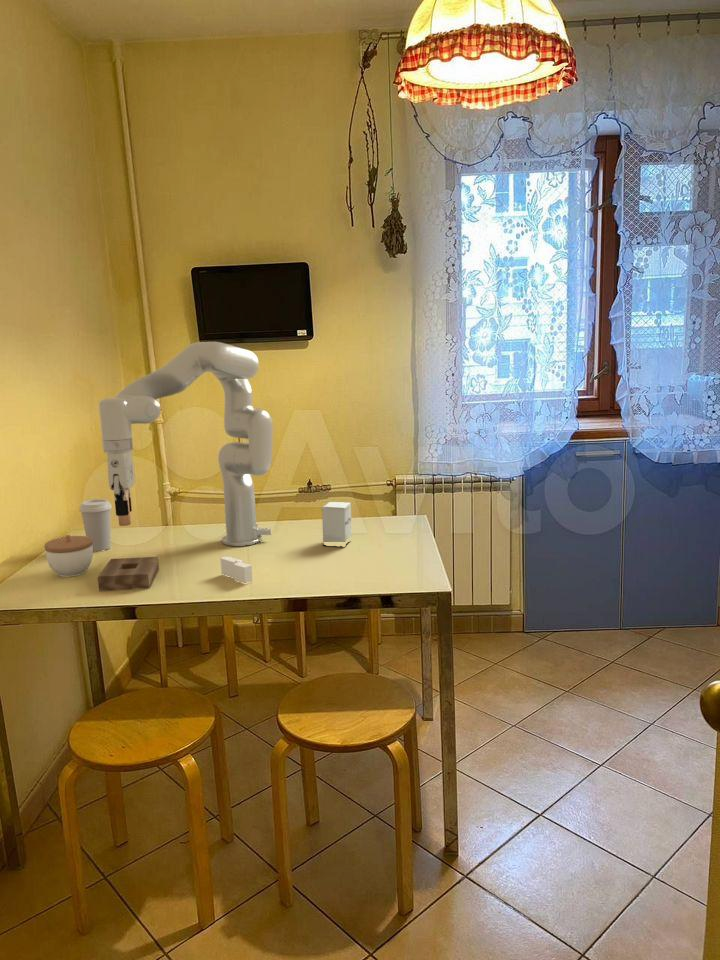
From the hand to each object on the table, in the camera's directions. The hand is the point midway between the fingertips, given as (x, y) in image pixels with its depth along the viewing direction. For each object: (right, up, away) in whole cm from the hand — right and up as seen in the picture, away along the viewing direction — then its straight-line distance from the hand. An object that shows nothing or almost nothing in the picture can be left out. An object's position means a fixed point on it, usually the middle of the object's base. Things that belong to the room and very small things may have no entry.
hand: (123, 512), depth 201 cm
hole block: (0, -18, +4) cm, 19 cm away
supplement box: (+56, -11, +33) cm, 66 cm away
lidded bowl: (-18, -18, +11) cm, 28 cm away
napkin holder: (+30, -19, +3) cm, 35 cm away
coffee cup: (-18, -13, +34) cm, 41 cm away
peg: (0, -3, +1) cm, 3 cm away
